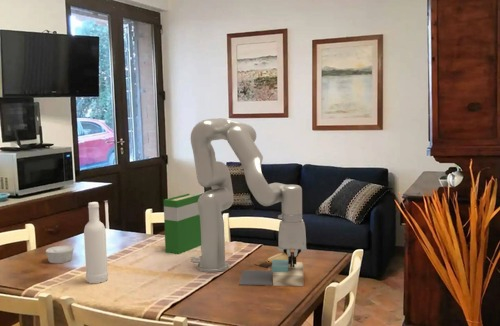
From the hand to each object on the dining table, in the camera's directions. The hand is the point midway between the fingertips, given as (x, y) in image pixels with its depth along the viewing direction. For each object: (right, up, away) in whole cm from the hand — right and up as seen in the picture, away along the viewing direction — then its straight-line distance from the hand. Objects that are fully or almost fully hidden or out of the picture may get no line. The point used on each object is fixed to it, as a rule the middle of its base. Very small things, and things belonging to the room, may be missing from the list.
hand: (292, 265), depth 200 cm
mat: (-13, -5, +2) cm, 14 cm away
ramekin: (-98, -4, +30) cm, 102 cm away
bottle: (-74, -6, +3) cm, 74 cm away
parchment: (-4, -3, +25) cm, 26 cm away
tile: (-5, -1, +1) cm, 5 cm away
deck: (-1, -5, +1) cm, 5 cm away
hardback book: (-46, -1, +45) cm, 65 cm away
